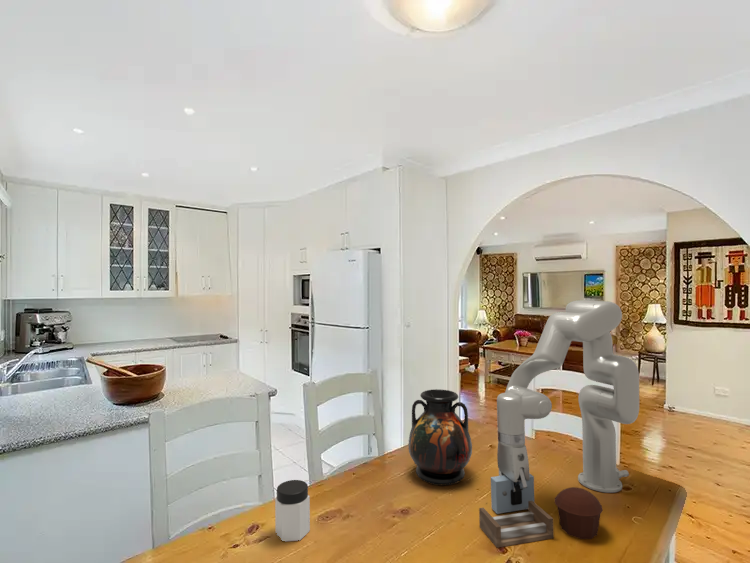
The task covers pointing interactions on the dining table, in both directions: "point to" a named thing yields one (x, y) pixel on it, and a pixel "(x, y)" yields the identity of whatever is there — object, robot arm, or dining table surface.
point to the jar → (292, 510)
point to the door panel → (509, 494)
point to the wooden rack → (517, 526)
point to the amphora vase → (440, 438)
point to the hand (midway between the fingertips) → (512, 500)
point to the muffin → (578, 512)
